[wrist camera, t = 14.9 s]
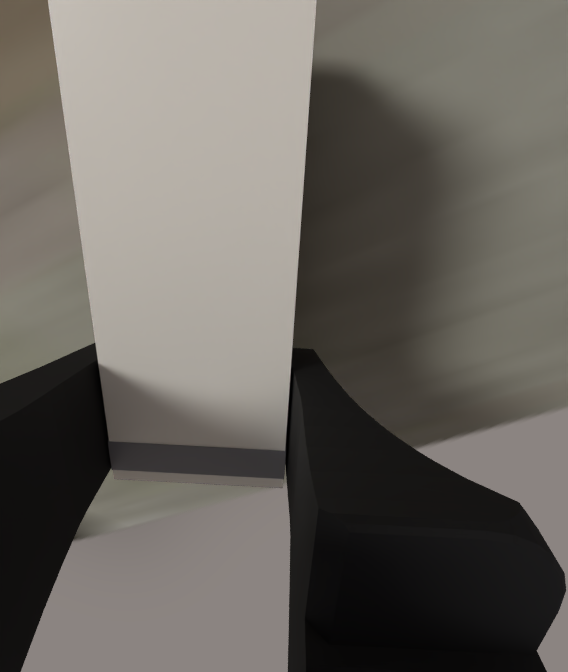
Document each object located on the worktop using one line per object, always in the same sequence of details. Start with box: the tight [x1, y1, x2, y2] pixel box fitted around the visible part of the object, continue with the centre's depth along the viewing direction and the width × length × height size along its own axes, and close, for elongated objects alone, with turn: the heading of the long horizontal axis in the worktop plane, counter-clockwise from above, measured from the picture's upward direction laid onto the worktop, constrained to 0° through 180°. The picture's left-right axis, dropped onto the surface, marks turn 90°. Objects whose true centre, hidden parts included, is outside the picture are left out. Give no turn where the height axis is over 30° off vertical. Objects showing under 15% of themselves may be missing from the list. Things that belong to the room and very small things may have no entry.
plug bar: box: [48, 0, 316, 488], centre depth 9 cm, size 4×10×4 cm, turn 177°
